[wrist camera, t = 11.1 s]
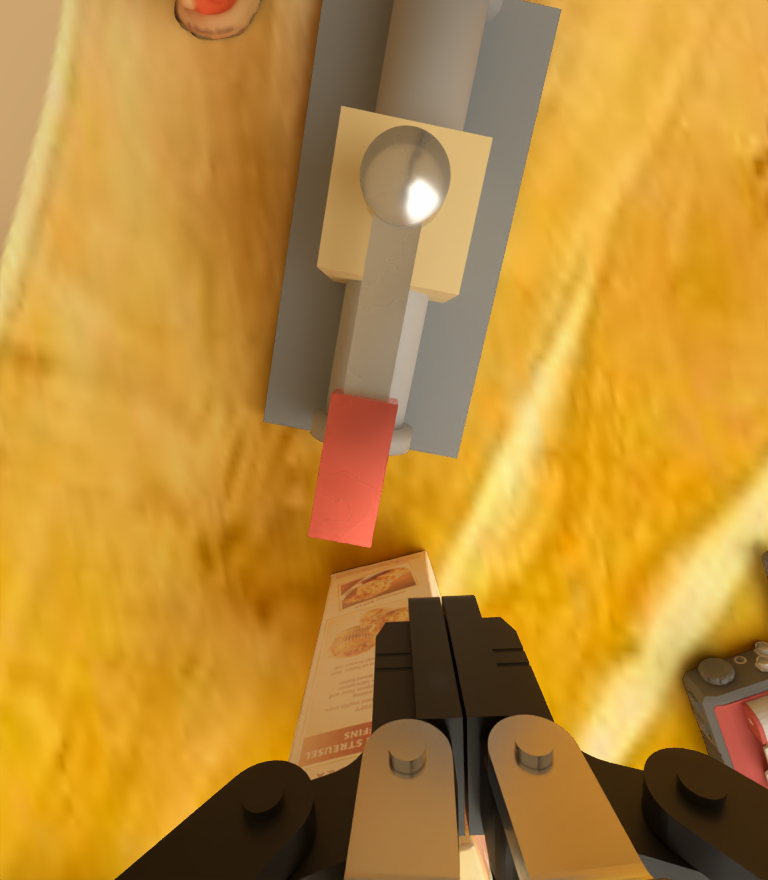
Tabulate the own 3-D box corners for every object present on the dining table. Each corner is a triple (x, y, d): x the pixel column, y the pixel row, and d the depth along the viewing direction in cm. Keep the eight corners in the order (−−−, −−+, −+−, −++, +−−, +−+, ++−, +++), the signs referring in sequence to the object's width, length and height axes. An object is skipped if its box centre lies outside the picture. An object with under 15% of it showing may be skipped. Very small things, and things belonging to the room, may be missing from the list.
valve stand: (331, -22, 26) (297, -236, 16) (551, 27, 26) (648, -155, 16) (269, 417, 31) (214, 456, 21) (453, 452, 31) (483, 506, 22)
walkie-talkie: (835, 765, 37) (770, 536, 33) (895, 822, 32) (828, 567, 28) (720, 801, 37) (644, 583, 34) (763, 862, 33) (681, 620, 29)
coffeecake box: (327, 573, 33) (245, 895, 14) (428, 546, 33) (483, 843, 14) (388, 750, 36) (387, 1209, 17) (481, 728, 36) (586, 1176, 17)
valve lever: (370, 135, 18) (368, 114, 17) (453, 152, 18) (460, 133, 17) (308, 518, 22) (301, 535, 20) (378, 531, 22) (377, 549, 20)
